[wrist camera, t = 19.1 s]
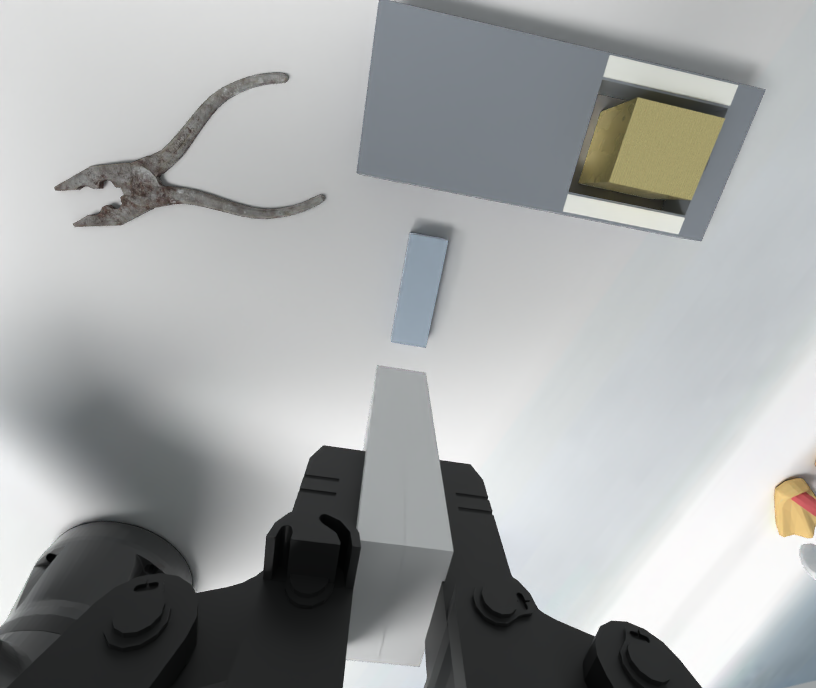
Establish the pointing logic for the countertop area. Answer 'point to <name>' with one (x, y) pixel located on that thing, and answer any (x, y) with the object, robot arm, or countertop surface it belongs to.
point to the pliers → (144, 173)
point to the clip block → (650, 150)
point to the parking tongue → (418, 289)
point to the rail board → (525, 116)
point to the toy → (797, 517)
